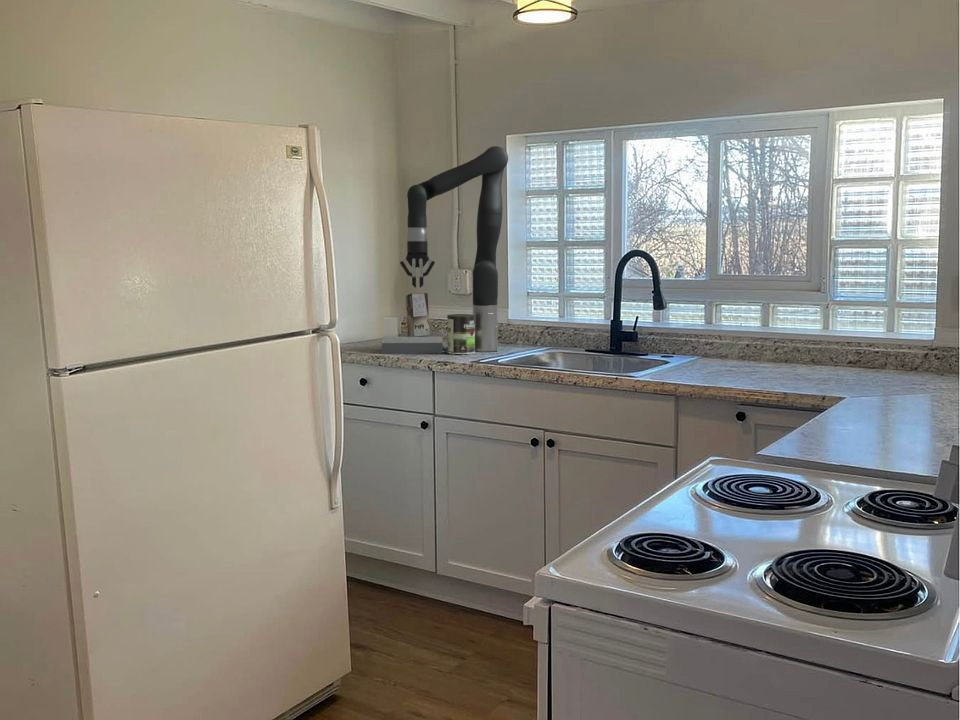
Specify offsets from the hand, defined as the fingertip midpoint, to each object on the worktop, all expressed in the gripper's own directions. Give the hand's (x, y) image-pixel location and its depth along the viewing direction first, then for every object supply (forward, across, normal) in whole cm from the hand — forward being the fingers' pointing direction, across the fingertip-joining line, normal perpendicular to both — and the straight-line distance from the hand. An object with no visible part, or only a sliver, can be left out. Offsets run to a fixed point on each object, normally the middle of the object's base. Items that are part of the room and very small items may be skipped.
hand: (417, 287), depth 335 cm
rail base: (+24, +2, 0) cm, 24 cm away
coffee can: (+24, -16, +5) cm, 30 cm away
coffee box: (+19, 0, 0) cm, 19 cm away
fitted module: (+19, +10, 0) cm, 22 cm away
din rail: (+20, +2, 0) cm, 20 cm away
